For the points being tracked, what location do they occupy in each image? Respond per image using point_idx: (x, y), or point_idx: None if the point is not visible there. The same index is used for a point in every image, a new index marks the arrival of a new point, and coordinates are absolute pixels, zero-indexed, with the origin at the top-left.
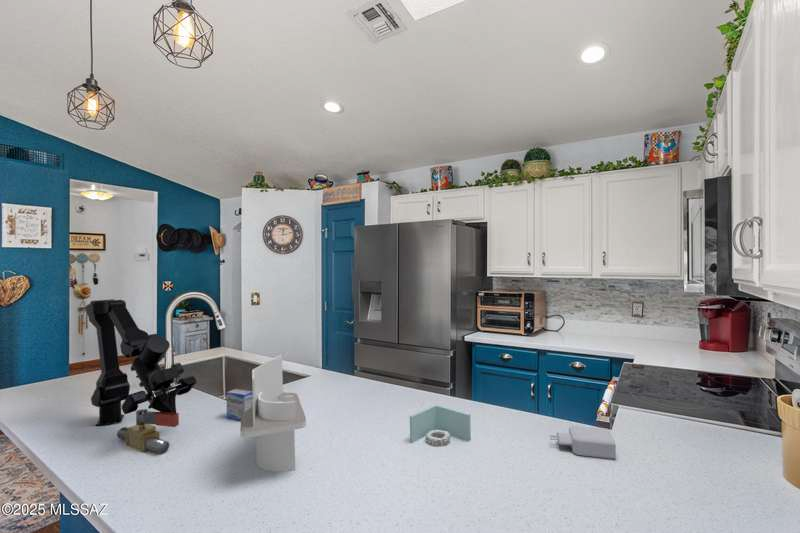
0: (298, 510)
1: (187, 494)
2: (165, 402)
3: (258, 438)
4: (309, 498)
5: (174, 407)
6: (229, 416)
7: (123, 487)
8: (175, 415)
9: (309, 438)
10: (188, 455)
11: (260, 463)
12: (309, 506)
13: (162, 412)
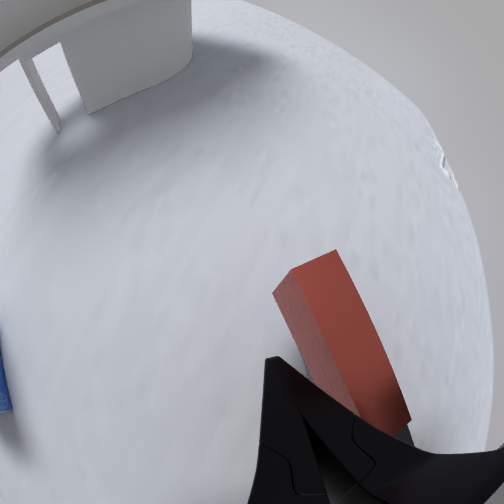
0: (240, 10)
1: (329, 82)
2: (392, 456)
3: (185, 12)
4: (216, 11)
5: (278, 418)
6: (2, 395)
7: (426, 196)
8: (322, 257)
9: (53, 94)
10: (259, 220)
11: (190, 52)
12: (227, 8)
13: (374, 414)
